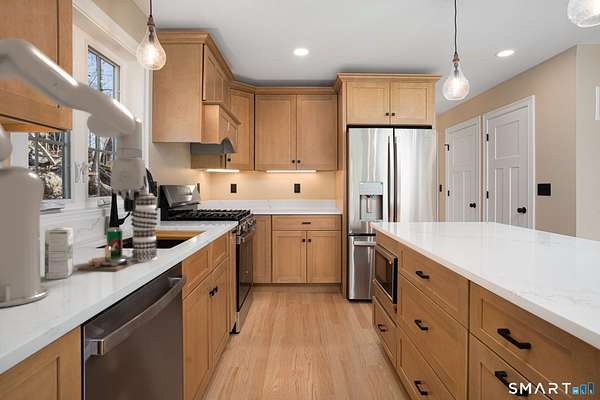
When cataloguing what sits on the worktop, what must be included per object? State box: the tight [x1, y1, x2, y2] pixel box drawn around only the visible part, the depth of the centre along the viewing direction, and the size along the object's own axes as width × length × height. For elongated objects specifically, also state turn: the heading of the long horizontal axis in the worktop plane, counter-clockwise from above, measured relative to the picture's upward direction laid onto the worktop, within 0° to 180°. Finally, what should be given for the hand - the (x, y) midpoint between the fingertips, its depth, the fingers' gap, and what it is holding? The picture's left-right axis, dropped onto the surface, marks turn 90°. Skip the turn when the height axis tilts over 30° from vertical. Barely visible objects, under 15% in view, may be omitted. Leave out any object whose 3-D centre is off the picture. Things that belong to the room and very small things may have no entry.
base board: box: [76, 260, 139, 272], centre depth 113 cm, size 13×13×1 cm
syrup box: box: [44, 227, 74, 281], centre depth 99 cm, size 6×6×14 cm
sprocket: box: [87, 245, 133, 267], centre depth 114 cm, size 13×13×6 cm
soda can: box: [106, 226, 123, 256], centre depth 122 cm, size 5×5×12 cm
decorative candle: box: [130, 192, 159, 263], centre depth 124 cm, size 9×9×25 cm
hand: (129, 211), depth 109 cm, fingers closed
